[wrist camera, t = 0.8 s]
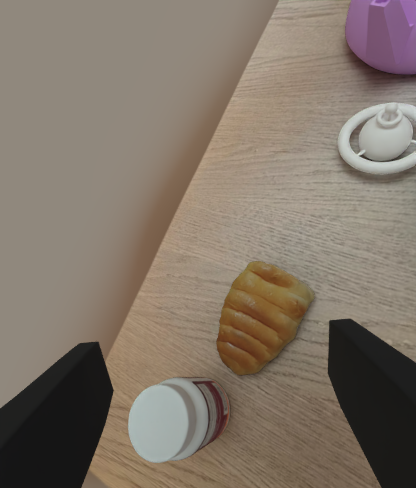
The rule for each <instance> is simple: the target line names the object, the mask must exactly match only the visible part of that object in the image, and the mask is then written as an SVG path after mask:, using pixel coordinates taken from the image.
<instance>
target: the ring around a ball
mask: <svg viewBox="0 0 416 488" xmlns="http://www.w3.org/2000/svg"><path fill="white" fill-rule="evenodd" d="M406 117H407V118H409V119H411V120H413V121H414V122H416V107H415V106H413V105H409V104H404V103H395V102H390V103H384V104H379V105H375V106H372V107H369V108H366V109H364V110H362V111H360V112H358V113H357V114H355V115H354V116H352V117H351V118H350V119H349V120H348V121H347V122H346V123H345V124H344V126H343V127H342V129H341V131H340V133H339V136H338V150H339V153H340V155H341V156H342V158H343V159H344V160H345V161H346V162H347V163H348V164H349V165H350V166H352V167H354V168H355V169H357V170H360V171H363V172H367V173H372V174H391V173H397V172H401V171H404V170H407V169H409V168H411V167H413V166H415V165H416V151H415V152H413V153H412V154H410V155H409V156H407V157H405V158H402V159H399V160H396V161H391V162H374V161H388V160H391V159H394V158H396V157H398V156H399V155H401V154H402V153H403V152H404V151H405V150H406V149H407V148H408V146H409V144H410V143H413V144H416V140H412V136H413V128H412V125H411V123H410V121H409V120H408V119H407V118H406ZM370 118H371V119H370ZM368 119H370V120H369V121H368V122H367V123H366V124H365V125H364V126H363V128H362V130H361V132H360V135H359V140H358V142H359V148H360V150H361V152H359V153H358V154H355V153H354V152H353V150H352V149H351V147H350V143H349V139H350V135H351V133H352V131H353V130H354V129H355V128H356V127H357V126H358V125H359V124H361V123H362V122H364V121H366V120H368ZM362 154H364V155H365V156H366V157H367V158H369V159H371V160H373V161H369V160H366V159H363V158H361V157H359V156H360V155H362Z"/></svg>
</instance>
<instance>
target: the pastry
mask: <svg viewBox="0 0 416 488" xmlns="http://www.w3.org/2000/svg"><path fill="white" fill-rule="evenodd" d="M313 300H314V292H313V290H312V289H311V288H310V287H309V286H308V285H306V284H305V283H304V282H301V281H299V280H298V279H296V278H295V277H294V276H293V275H290V274H289V273H287V272H285V271H284V270H282V269H280V268H278V267H276V266H274V265H271V264H266V263H265V262H261V261H255V262H250V263H249V264H248V266H247V268H246V269H245V270H244V271H243V272H242V273H241V274H240V275H239V276H238V277H237V278H236V279H235V281H234V282H233V284H232V286H231V289H230V292H229V293H228V295H227V297H226V299H225V302H224V306H223V308H222V311H221V318H220V321H219V323H220V327H219V334H218V338H217V341H216V344H217V350H218V352H219V355H220V358H221V359H222V362H223V363H224V364H225V365H226V366H227V367H228V368H230V369H231V370H232V371H233V372H234V373H235V374H237V375H247V374H254V373H258V372H259V371H260V370H261V369H262V368H263V367H264V366H265V365H266V364H267V363H268V362H269V361H271V360H272V359H274V358H276V357H277V355H278V354H279V353H280V352H281V350H282V349H283V348H284V347H285V346H286V344H288V343H289V342H291V341H292V340H293V339H294V338H295V336H296V332H297V327H298V326H299V324H300V322H301V320H302V318H303V316H304V314H305V312H306V311H307V308H308V306H309V304H310V303H311V302H312V301H313Z"/></svg>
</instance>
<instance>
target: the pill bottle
mask: <svg viewBox="0 0 416 488" xmlns="http://www.w3.org/2000/svg"><path fill="white" fill-rule="evenodd" d="M229 417H230V404H229V400H228V397H227V394H226V392H225V391H224V389H223V388H222V387H221V386H220V385H219V384H218V383H217V382H216V381H214V380H212V379H209V378H202V377H195V378H192V377H191V378H189V377H188V378H187V377H185V378H184V377H175V378H170V379H167V380H164V381H162V382H161V383H159V384H157V385H153V386H150V387H148V388H146V389H145V390H144V391H142V392H141V393H140V394H139V396H138V397H137V398H136V400H135V401H134V403H133V405H132V408H131V411H130V414H129V421H128V430H129V437H130V440H131V443H132V445H133V447H134V449H135V450H136V452H137V453H138V454H139V455H140V456H141V457H142V458H144V459H145V460H147V461H150V462H154V463H162V462H166V461H168V460H172V461H176V460H182V459H185V458H188V457H189V456H191V455H193V454H194V453H196V452H197V451H198V450H200V449H202V448H203V447H205V446H206V445H208V444H209V443H211V442H212V441H214V440H215V439H217V438H218V437H219V436H220V435H221V434H222V433H223V432H224V430H225V428H226V426H227V424H228V421H229Z"/></svg>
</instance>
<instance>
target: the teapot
mask: <svg viewBox="0 0 416 488" xmlns="http://www.w3.org/2000/svg"><path fill="white" fill-rule="evenodd" d="M345 35H346V39H347V42H348V45H349V46H350V48H351V50H352V51H353V52H354V53H355V54H356V55H357V56H358V57H359V58H360V59H361V60H362V61H364V62H365V63H366V64H368V65H369V66H371V67H373V68H375V69H377V70H380V71H384V72H388V73H393V74H416V0H351V3H350V6H349V10H348V14H347V19H346V26H345Z"/></svg>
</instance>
